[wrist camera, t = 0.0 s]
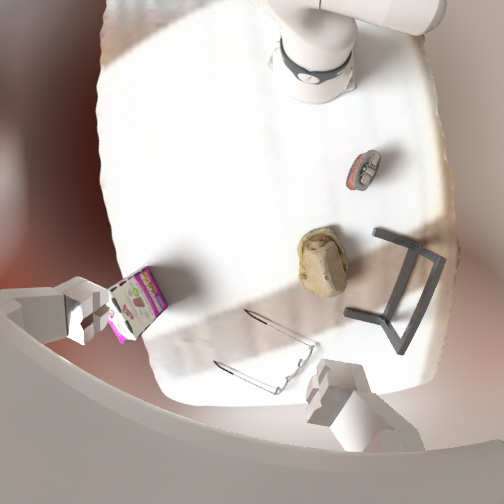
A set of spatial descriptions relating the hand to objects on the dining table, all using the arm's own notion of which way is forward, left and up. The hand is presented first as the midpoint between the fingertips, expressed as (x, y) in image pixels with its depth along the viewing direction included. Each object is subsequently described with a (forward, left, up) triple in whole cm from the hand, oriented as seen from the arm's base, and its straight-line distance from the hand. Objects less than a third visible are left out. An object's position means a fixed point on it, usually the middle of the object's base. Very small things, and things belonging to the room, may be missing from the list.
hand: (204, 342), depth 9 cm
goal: (+7, +26, -48) cm, 55 cm away
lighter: (-13, +14, -48) cm, 52 cm away
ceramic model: (+7, +12, -48) cm, 50 cm away
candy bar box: (+25, -24, -48) cm, 59 cm away
